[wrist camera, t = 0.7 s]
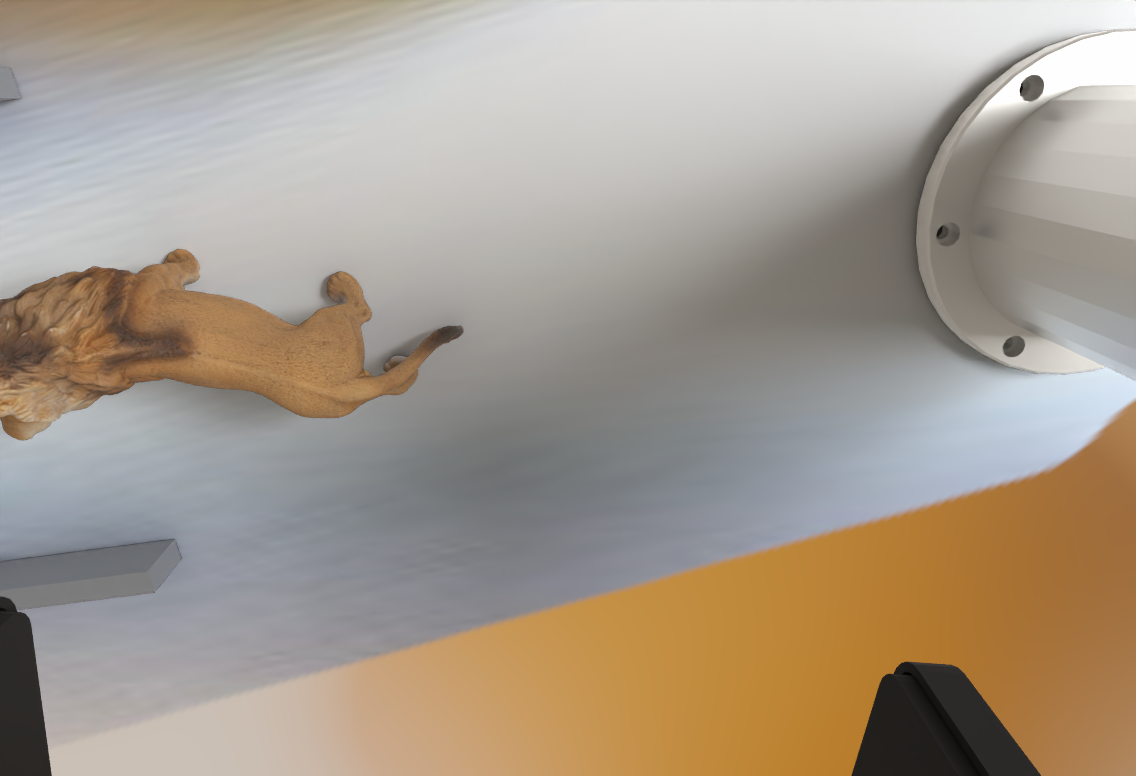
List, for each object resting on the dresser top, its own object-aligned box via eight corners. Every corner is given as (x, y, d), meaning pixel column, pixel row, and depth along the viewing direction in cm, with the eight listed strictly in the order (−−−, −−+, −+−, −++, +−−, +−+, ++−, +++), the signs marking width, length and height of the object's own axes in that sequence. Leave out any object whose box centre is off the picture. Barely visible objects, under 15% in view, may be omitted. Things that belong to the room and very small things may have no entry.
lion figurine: (94, 372, 31) (-73, 472, 23) (72, 238, 29) (-119, 292, 21) (464, 385, 32) (435, 486, 23) (464, 254, 30) (433, 313, 22)
